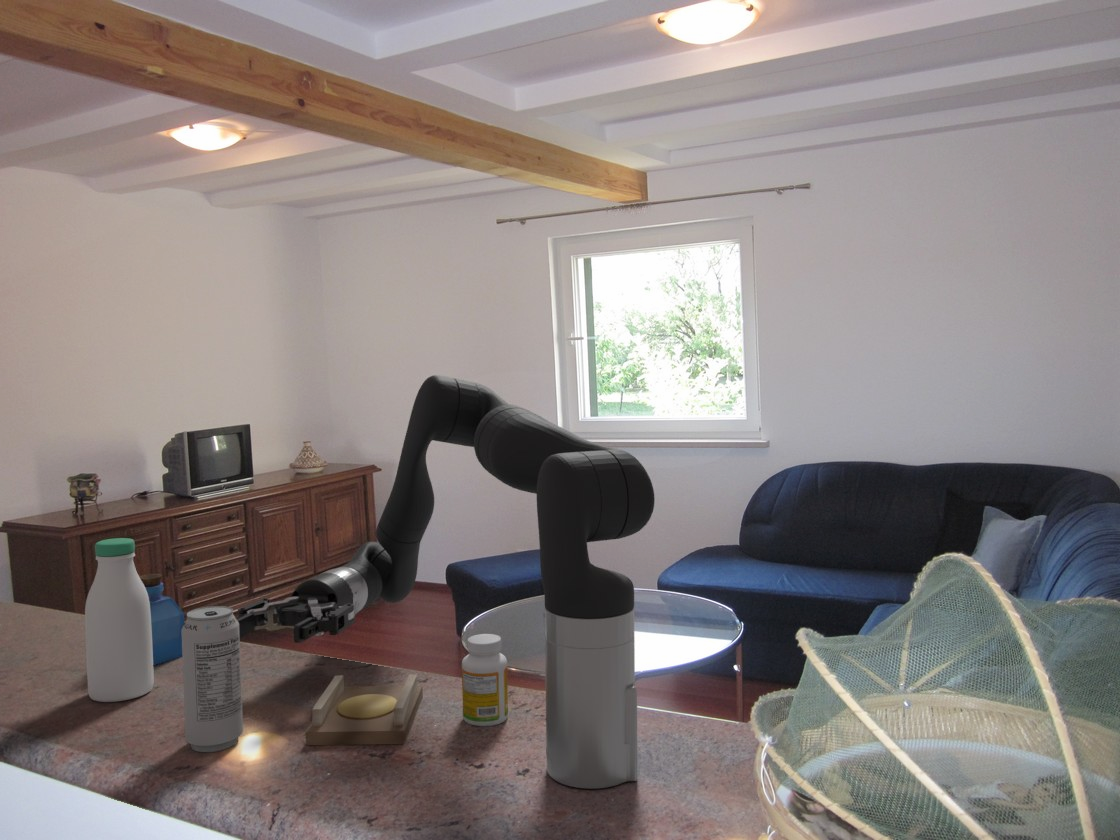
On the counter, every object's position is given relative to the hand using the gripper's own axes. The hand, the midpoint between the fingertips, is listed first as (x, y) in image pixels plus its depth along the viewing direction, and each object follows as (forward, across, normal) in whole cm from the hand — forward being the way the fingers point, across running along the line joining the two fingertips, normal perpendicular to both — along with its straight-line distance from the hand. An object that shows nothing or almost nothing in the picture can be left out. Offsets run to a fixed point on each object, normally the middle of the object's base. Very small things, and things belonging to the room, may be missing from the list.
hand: (265, 632), depth 112 cm
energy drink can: (+10, 0, +10) cm, 14 cm away
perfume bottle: (-13, -27, +10) cm, 32 cm away
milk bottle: (0, -22, +10) cm, 24 cm away
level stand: (+1, +14, +10) cm, 17 cm away
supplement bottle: (-3, +27, +10) cm, 29 cm away
